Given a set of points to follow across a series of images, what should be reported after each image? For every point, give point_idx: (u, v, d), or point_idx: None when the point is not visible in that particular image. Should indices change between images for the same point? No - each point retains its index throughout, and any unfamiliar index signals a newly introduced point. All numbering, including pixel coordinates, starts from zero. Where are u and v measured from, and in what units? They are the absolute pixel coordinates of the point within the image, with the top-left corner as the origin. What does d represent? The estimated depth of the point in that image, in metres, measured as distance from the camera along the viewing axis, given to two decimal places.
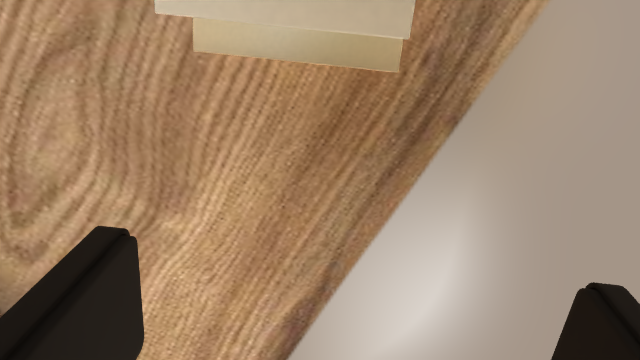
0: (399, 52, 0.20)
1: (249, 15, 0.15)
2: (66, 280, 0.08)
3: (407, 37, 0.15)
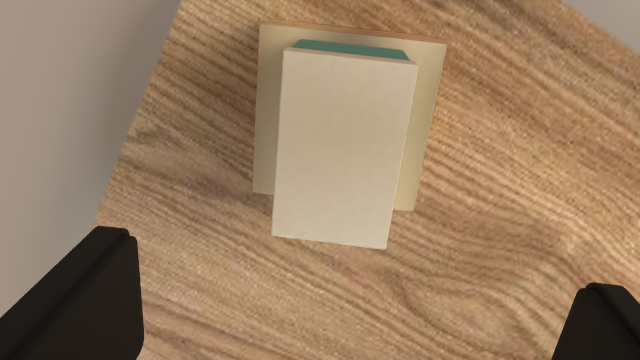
0: (429, 43, 0.22)
1: (391, 187, 0.19)
2: (66, 280, 0.08)
3: (417, 66, 0.17)
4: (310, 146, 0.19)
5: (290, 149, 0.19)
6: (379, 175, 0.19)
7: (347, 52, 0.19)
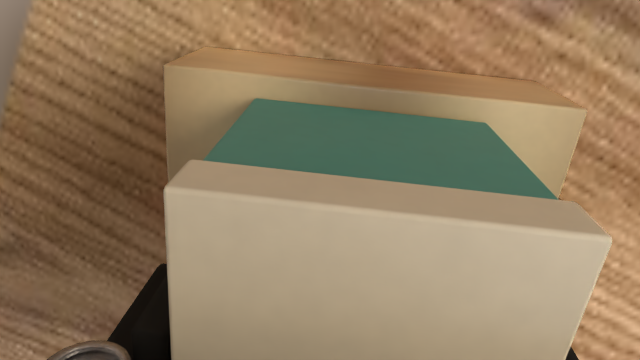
0: (546, 108, 0.10)
1: None
2: None
3: (607, 241, 0.05)
4: None
5: None
6: None
7: (367, 156, 0.07)
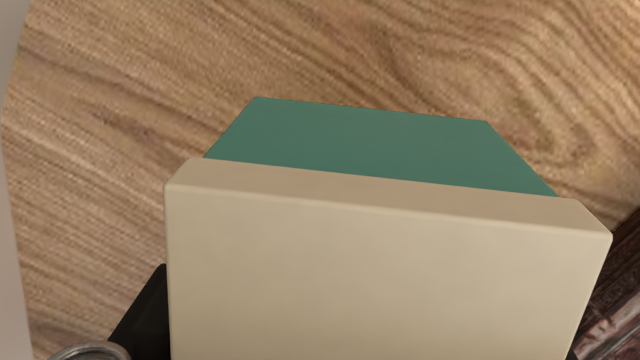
0: None
1: None
2: None
3: (607, 238, 0.05)
4: None
5: None
6: None
7: (366, 154, 0.07)
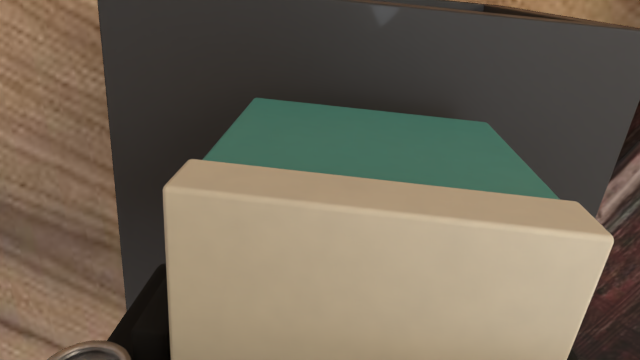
0: None
1: None
2: None
3: (608, 241, 0.05)
4: None
5: None
6: None
7: (367, 156, 0.07)
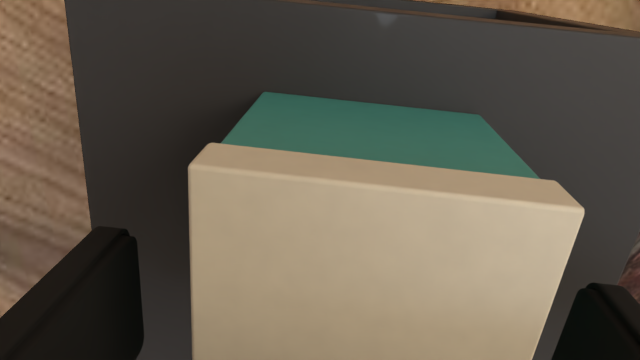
0: None
1: None
2: (66, 280, 0.08)
3: (580, 212, 0.06)
4: None
5: None
6: None
7: (368, 142, 0.08)
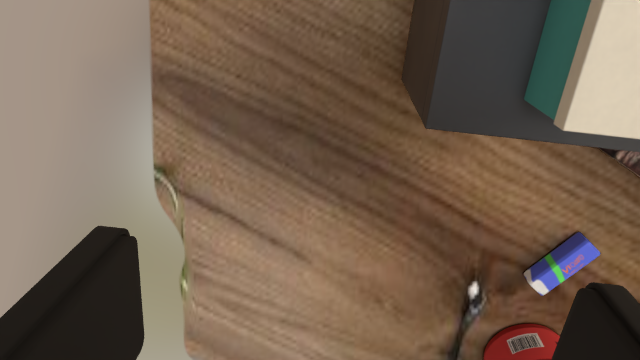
0: None
1: None
2: (66, 280, 0.08)
3: None
4: (639, 16, 0.17)
5: (614, 20, 0.17)
6: None
7: None
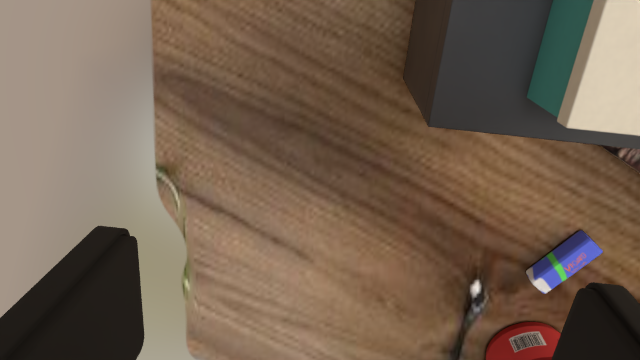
0: None
1: None
2: (66, 280, 0.08)
3: None
4: None
5: (617, 17, 0.17)
6: None
7: None
